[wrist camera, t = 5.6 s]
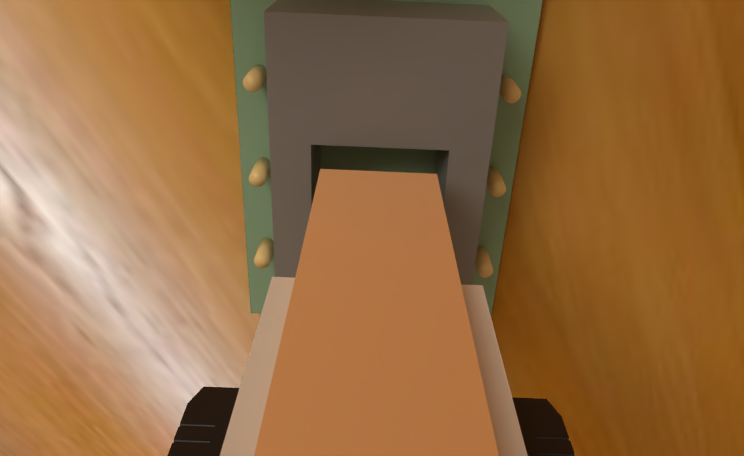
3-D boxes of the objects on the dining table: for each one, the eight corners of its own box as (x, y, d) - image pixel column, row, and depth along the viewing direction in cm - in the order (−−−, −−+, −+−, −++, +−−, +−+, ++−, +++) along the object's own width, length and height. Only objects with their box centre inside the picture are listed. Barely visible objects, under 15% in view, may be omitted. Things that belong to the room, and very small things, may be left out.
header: (230, -36, 23) (199, -25, 19) (543, -22, 23) (576, -8, 19) (252, 307, 31) (233, 366, 27) (488, 316, 31) (504, 377, 27)
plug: (318, 167, 21) (227, 552, 8) (438, 172, 21) (527, 564, 8) (318, 269, 22) (244, 708, 10) (428, 274, 23) (488, 716, 10)
